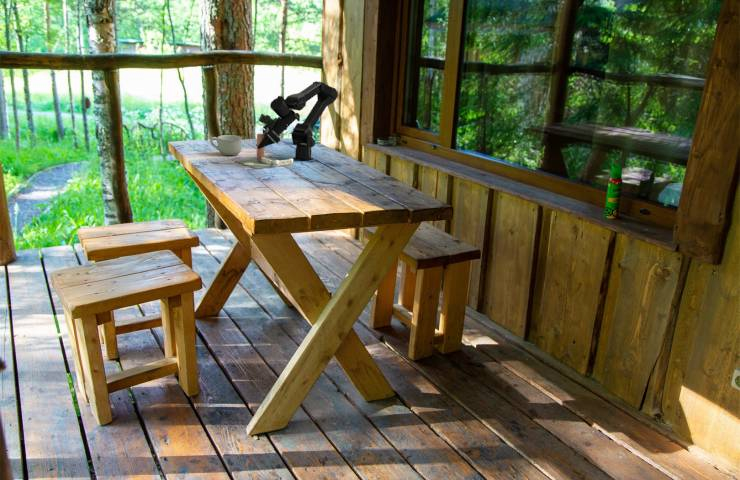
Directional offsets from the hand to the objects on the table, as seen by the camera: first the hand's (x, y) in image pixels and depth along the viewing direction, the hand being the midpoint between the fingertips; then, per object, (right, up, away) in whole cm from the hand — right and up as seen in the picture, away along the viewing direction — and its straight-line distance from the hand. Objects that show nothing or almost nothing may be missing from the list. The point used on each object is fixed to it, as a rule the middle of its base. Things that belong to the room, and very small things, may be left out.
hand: (257, 147), depth 254 cm
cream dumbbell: (+11, -8, -1) cm, 14 cm away
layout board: (+3, -7, +1) cm, 7 cm away
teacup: (-17, -1, +15) cm, 22 cm away
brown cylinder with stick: (+4, -7, -1) cm, 8 cm away
